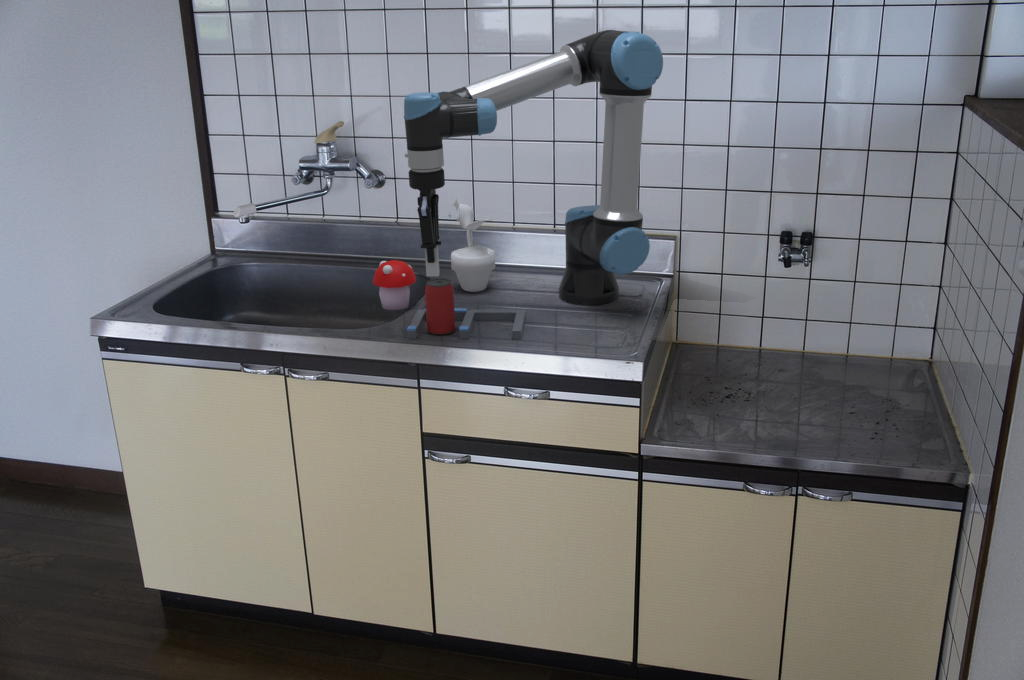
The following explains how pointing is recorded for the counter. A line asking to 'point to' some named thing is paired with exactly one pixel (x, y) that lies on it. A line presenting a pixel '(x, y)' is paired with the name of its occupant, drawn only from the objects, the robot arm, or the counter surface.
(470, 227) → the potted plant
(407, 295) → the mushroom
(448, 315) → the beer can
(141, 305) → the counter surface
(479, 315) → the duct comb
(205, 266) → the counter surface
